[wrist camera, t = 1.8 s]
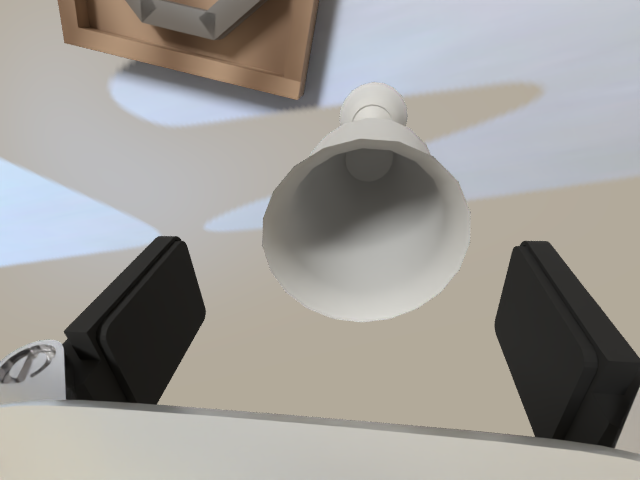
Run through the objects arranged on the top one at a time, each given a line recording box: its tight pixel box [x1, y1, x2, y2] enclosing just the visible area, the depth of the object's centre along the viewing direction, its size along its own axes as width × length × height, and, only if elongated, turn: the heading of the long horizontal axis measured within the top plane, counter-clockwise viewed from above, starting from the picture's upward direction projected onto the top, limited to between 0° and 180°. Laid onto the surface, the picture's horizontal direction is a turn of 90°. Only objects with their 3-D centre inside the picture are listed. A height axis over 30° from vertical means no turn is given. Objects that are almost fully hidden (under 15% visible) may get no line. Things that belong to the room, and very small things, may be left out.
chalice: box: [262, 82, 470, 322], centre depth 20 cm, size 7×7×18 cm
